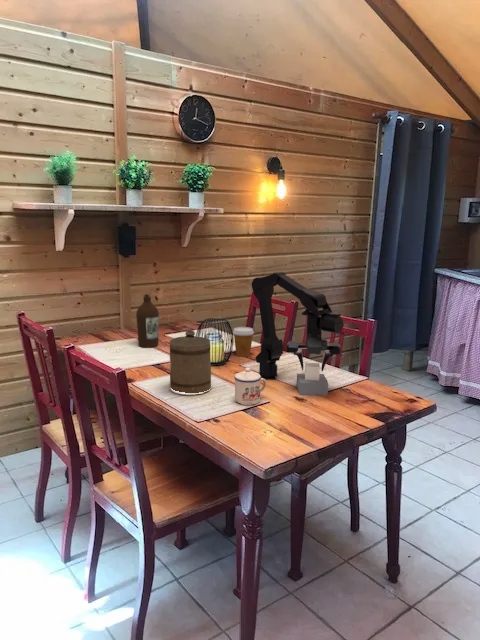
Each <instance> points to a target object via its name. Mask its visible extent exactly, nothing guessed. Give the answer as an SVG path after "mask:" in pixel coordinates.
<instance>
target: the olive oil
mask: <svg viewBox="0 0 480 640" xmlns="http://www.w3.org/2000/svg"><path fill="white" fill-rule="evenodd" d="M135 314H136V325H137V339H138V347H141V348H143V349H144V348H146V349H148V348H149V349H151V348H156V347H158V346H159V336H160V335H159V327H160V326H159V325H160V324H159V322H160V321H159V320H160V312H159V309H158V308H157V307H156V306H155V305H154V304H153V303H152V297H151V293H144V294H143V302H142V304H140V306H139V307H138V308H137V311H136V313H135Z"/></svg>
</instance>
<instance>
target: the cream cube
mask: <svg viewBox="0 0 480 640" xmlns="http://www.w3.org/2000/svg"><path fill="white" fill-rule="evenodd" d="M304 364H305V365H304V374H305V380H317V381H319V374H320V372H321V370H320V368H321V366H320V363H319V362H304Z"/></svg>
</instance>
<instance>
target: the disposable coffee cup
mask: <svg viewBox="0 0 480 640" xmlns="http://www.w3.org/2000/svg"><path fill="white" fill-rule="evenodd" d="M232 333H233V339H234V345H235V346H234V347H235V356H237V357H241V358H242V357H243V358H245V357H249V356H251V350H252V344H253V343H252V342H253V335H254V333H255V331H254V328H252V327H249V326H248V327H247V326H238V327H237V326H236V327H234V328H233V331H232Z"/></svg>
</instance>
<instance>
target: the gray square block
mask: <svg viewBox="0 0 480 640" xmlns="http://www.w3.org/2000/svg"><path fill="white" fill-rule="evenodd" d="M295 384H296V386H295V387H296V388H297V391H298V394H299V396H328V395H329V382H328V379H327V378H326V376H325V374H324V373H319V381H317V380H305V373H296V381H295Z"/></svg>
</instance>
